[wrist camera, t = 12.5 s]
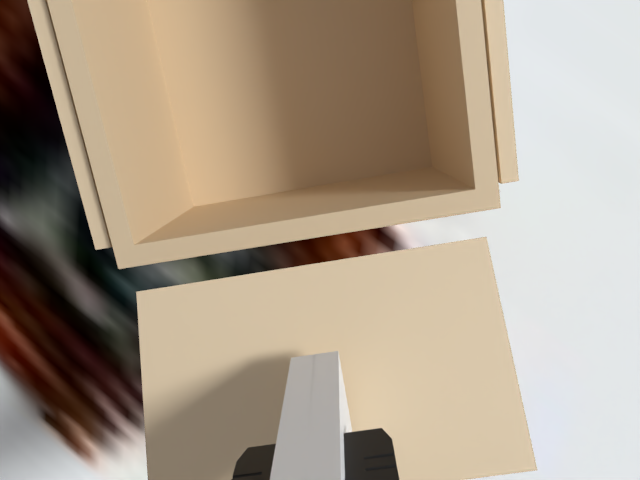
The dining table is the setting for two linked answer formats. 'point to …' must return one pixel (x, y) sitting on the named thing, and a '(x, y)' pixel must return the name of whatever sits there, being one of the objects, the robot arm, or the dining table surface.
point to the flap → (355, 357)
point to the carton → (276, 117)
